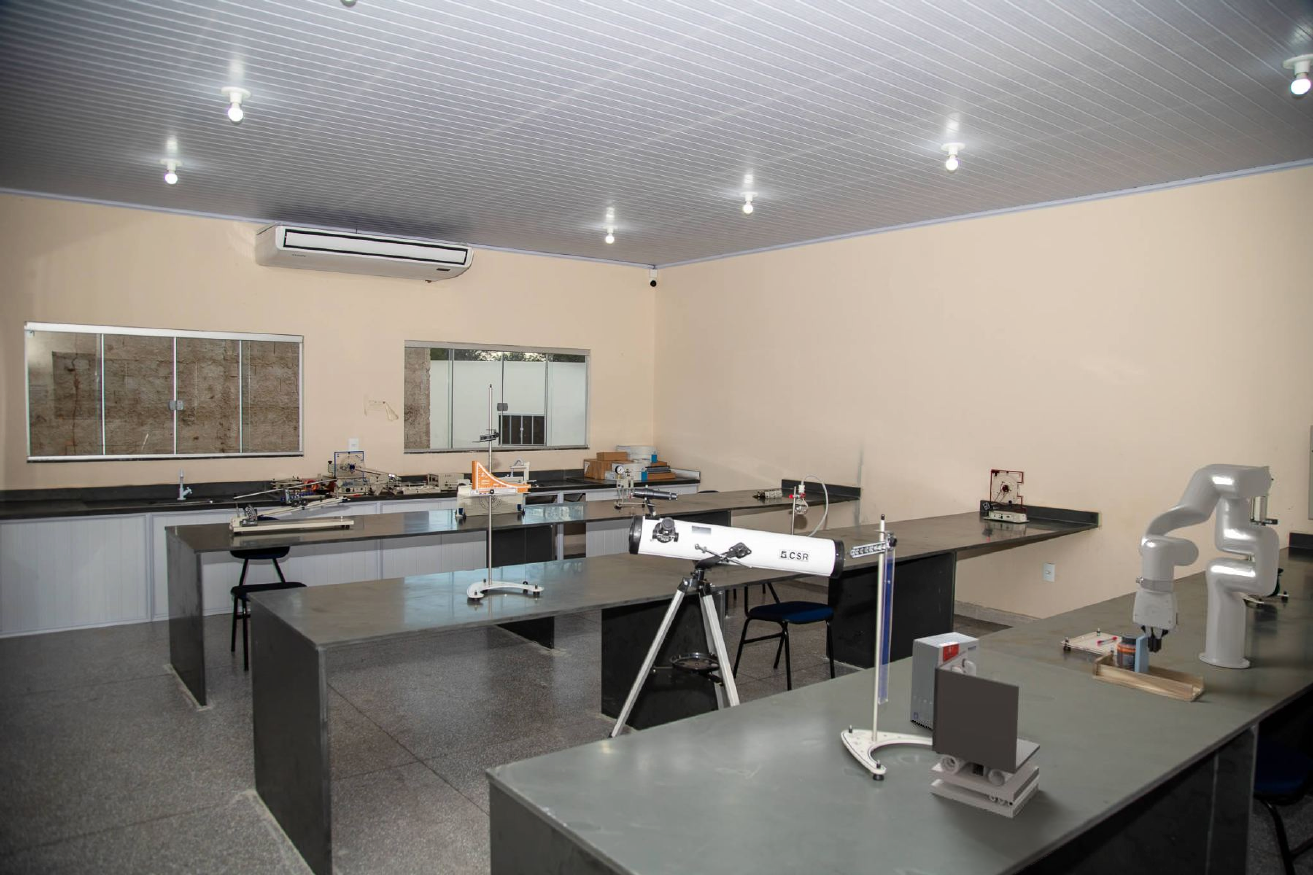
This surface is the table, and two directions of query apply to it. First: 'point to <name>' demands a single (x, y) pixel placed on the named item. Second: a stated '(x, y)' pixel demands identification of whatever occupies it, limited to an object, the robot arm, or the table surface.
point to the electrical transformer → (980, 740)
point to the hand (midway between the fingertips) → (1154, 651)
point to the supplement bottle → (1126, 653)
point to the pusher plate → (1142, 655)
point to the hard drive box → (923, 669)
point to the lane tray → (1149, 679)
